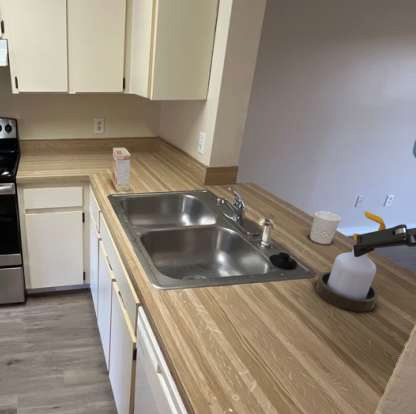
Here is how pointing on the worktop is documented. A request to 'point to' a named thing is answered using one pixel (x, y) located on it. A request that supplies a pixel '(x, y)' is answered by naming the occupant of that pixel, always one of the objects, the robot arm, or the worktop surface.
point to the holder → (342, 300)
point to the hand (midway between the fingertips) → (389, 254)
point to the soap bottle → (354, 270)
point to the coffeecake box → (121, 169)
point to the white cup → (324, 227)
